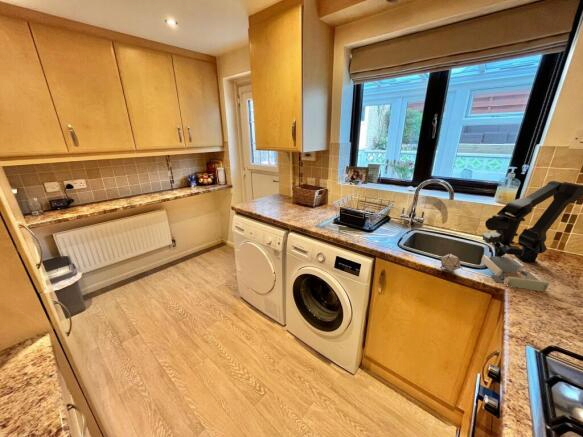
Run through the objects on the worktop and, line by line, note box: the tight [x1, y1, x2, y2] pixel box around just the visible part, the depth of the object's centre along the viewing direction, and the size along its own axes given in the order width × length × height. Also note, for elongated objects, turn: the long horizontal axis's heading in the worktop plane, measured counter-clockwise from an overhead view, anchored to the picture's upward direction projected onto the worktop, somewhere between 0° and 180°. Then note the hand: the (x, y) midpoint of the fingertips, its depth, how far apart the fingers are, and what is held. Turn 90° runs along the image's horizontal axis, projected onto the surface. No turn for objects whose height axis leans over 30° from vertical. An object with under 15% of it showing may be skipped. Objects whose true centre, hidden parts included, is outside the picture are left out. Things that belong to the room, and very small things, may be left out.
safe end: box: [505, 275, 550, 292], centre depth 95 cm, size 1×13×4 cm, turn 77°
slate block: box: [490, 255, 519, 274], centre depth 109 cm, size 7×7×4 cm
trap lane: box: [481, 254, 549, 292], centre depth 104 cm, size 20×13×3 cm
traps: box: [491, 270, 529, 284], centre depth 102 cm, size 6×22×1 cm, turn 101°
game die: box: [438, 251, 463, 274], centre depth 105 cm, size 9×8×10 cm
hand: (496, 258), depth 114 cm, fingers closed
